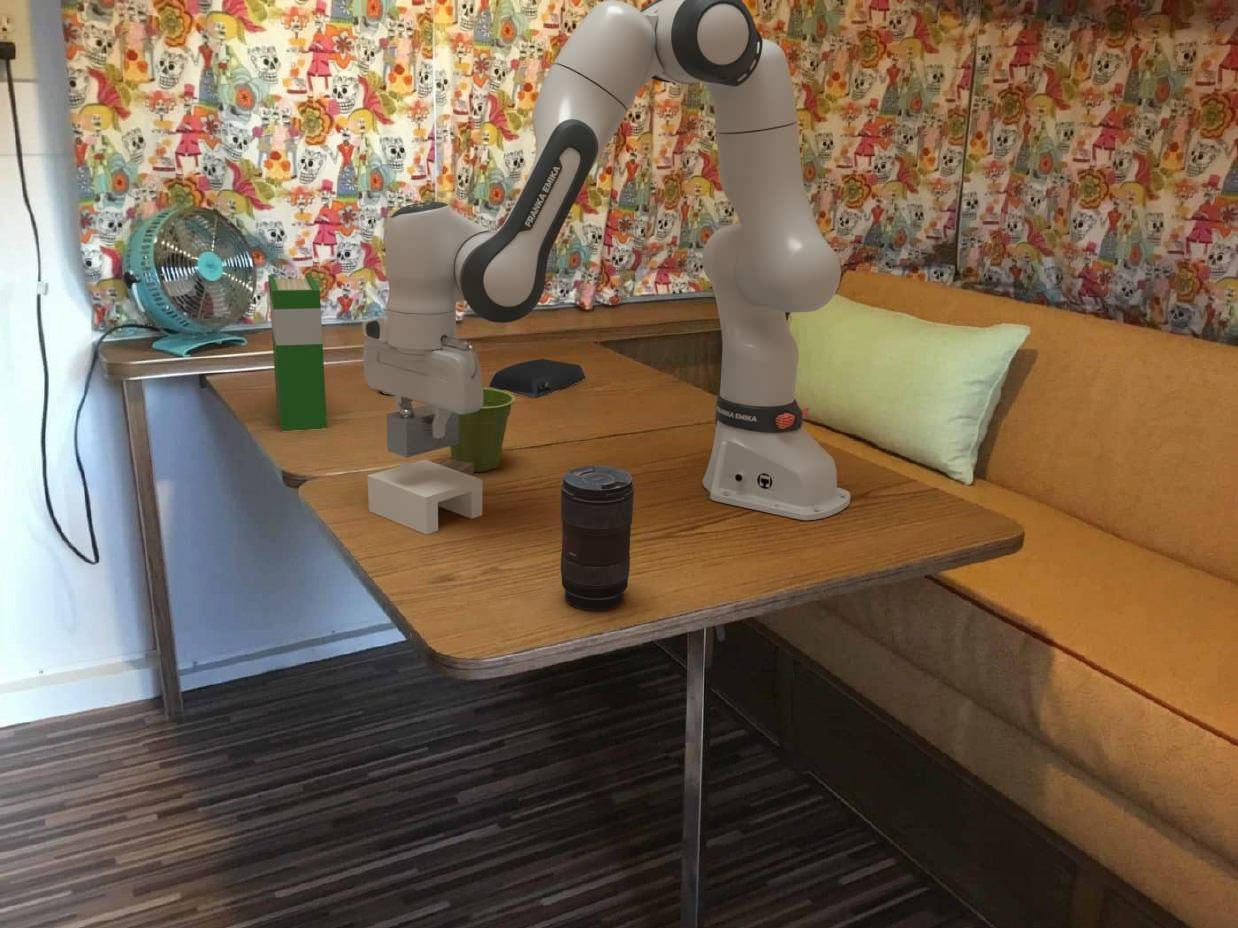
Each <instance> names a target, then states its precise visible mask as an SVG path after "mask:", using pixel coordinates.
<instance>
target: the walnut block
mask: <svg viewBox="0 0 1238 928" xmlns="http://www.w3.org/2000/svg"><path fill="white" fill-rule="evenodd" d="M440 465H442V466H445V467H448V468H450V469H453V470H456V471H459V472H462V473H465V474H468V475H471V476H473V477H475V476H474V472H473V463H468V462H462V461H456V460H452V459H448V460H446V461H444V462H442V463H441V464H440Z"/></svg>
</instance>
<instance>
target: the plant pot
mask: <svg viewBox="0 0 1238 928" xmlns="http://www.w3.org/2000/svg"><path fill="white" fill-rule="evenodd" d="M483 399H484V401H483V405H482V407H481V408H480V410H479V411H476V412H473V413H469V414H464V415H461V414H459V444H456V445H452V446H449V449H450V454H451V460H456V461H462V462H468V463H473V473H475V472H476V473H485V472H489V471H490V470H491V469H492V470H493V469H497V468H498V467H499V466H500V465H499V464H500V459H501V454H502V449H503V444H504V438H505V433H506V428H507V423H508V419H509V416H510V414H511V408H512V405H513V404H514V403H515V401H516V397H515V394H510V393H508V392H505V391H502V390H497V389H490V388H488V387H483Z"/></svg>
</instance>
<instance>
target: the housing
mask: <svg viewBox="0 0 1238 928" xmlns="http://www.w3.org/2000/svg"><path fill="white" fill-rule="evenodd" d="M435 415H436V414H433V413H432V406H431V405H427V404H425V405H422V406H419V407H413V408H400V412H399V411H396V412H391V413H387V414H386V438H387V439H386V441H387V442H386V447H387V452H391V453H393V454H396V455H399V456H402V457H405V458H411V457H414V456H418V455H421V454H426V453H429V452H433V451H437V450H441V449H444V448H449V447H450V446H452V445H456V444H459V414H457V413H454V412H452V413H451V415H450V417H449V419H448V420H447V422H446V424H445V435H444V437H441V438H434V437H431V436H429V435H428V431H429V430H428V424H430V423H433V420H434V417H435Z"/></svg>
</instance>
